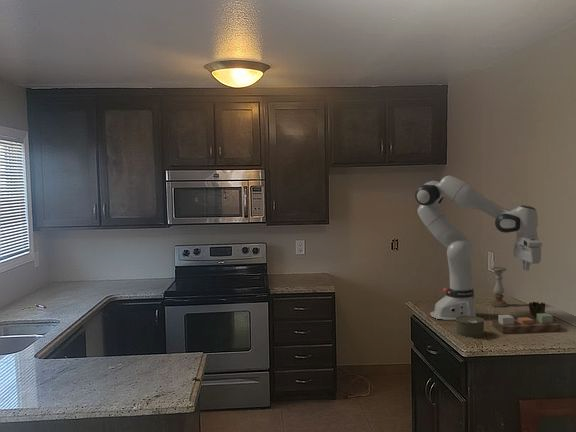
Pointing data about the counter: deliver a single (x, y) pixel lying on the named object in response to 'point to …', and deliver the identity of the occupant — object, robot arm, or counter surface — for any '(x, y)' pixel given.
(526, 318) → the terracotta button
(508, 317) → the grey button
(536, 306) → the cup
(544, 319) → the sage button
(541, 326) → the walnut button board
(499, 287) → the candle holder
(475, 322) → the can
